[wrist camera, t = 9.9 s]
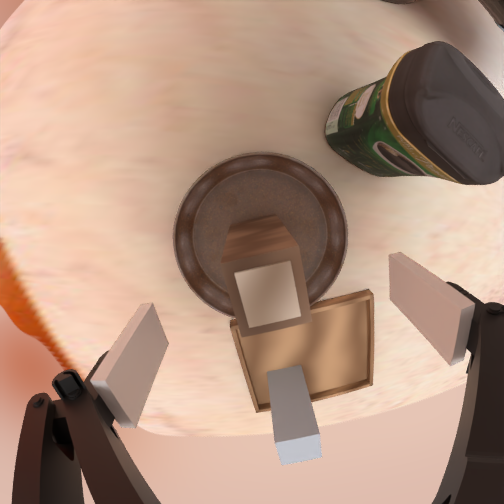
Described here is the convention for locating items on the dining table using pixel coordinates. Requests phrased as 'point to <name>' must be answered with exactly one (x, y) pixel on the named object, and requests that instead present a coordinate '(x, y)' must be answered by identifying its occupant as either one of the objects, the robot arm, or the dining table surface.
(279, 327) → the labelled carton
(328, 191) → the plant saucer
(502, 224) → the dining table surface
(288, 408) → the plain carton
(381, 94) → the coffee jar
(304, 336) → the parts tray
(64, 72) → the dining table surface
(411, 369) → the dining table surface
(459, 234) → the dining table surface
